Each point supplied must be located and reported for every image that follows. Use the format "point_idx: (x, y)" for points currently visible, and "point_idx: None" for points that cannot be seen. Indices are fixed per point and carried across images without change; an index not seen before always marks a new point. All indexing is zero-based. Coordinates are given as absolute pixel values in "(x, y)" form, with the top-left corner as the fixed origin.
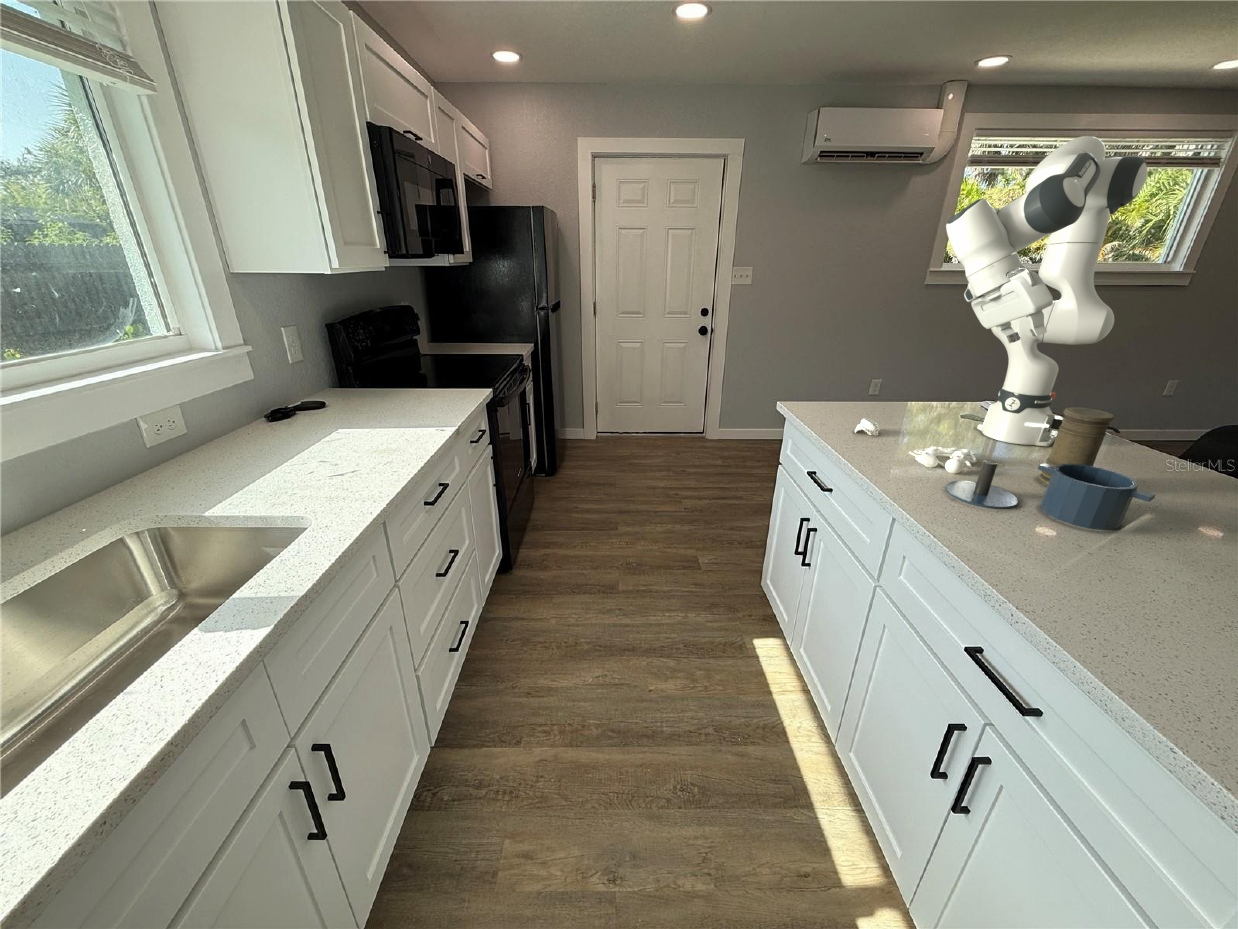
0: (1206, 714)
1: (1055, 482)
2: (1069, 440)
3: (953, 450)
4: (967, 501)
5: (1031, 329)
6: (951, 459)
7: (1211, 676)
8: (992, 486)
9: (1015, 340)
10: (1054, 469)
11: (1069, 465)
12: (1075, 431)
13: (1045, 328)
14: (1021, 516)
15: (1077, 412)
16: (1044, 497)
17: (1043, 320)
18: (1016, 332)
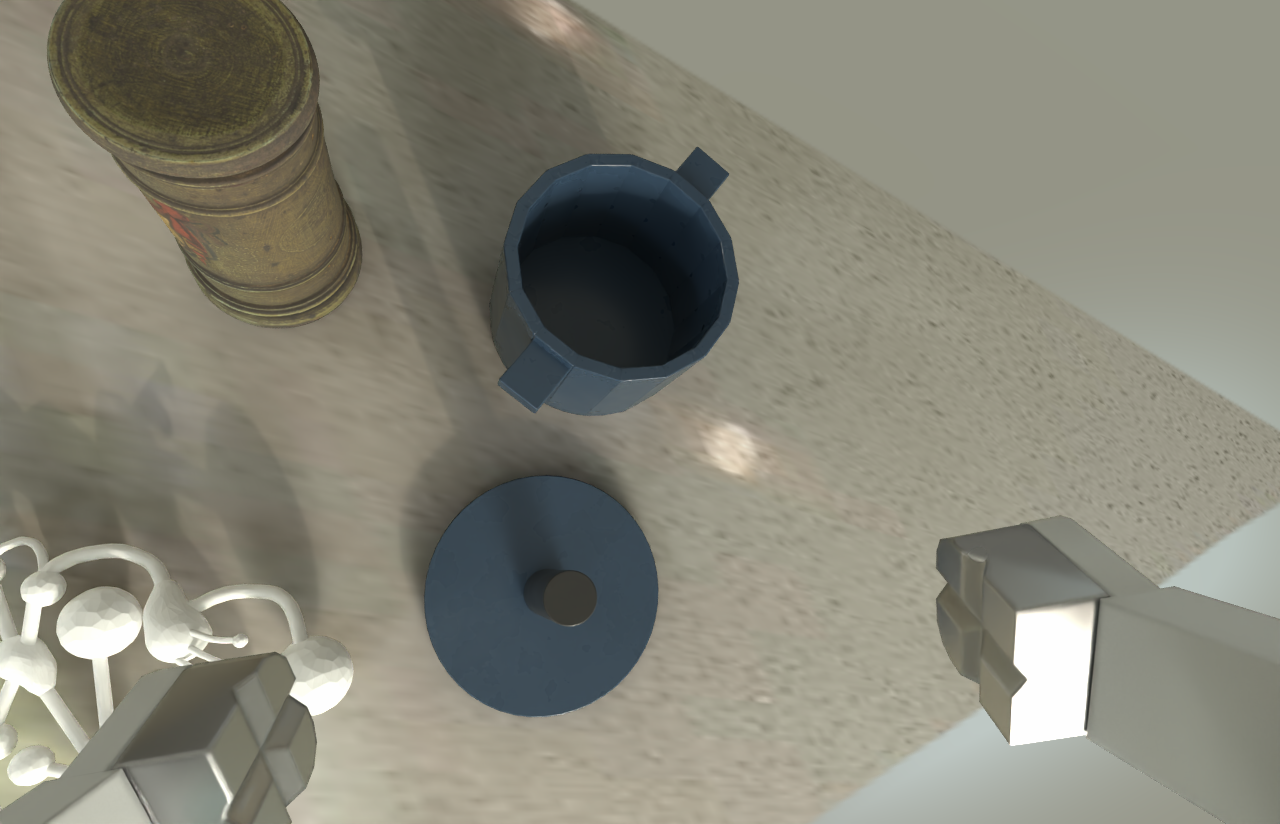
0: (1229, 420)
1: (640, 388)
2: (297, 212)
3: (27, 651)
4: (643, 650)
5: (1064, 732)
6: (307, 700)
7: (1146, 367)
8: (458, 535)
9: (287, 712)
10: (599, 376)
11: (530, 303)
12: (294, 179)
13: (1092, 541)
14: (654, 487)
15: (212, 121)
16: (588, 406)
17: (1267, 624)
18: (220, 764)
